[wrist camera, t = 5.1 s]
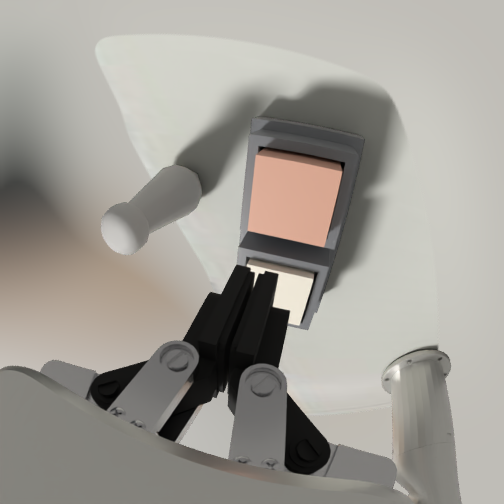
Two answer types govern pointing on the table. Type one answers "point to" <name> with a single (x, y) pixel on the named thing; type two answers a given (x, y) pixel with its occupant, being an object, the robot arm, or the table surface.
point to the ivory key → (287, 286)
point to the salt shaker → (151, 209)
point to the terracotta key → (293, 195)
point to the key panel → (322, 258)
